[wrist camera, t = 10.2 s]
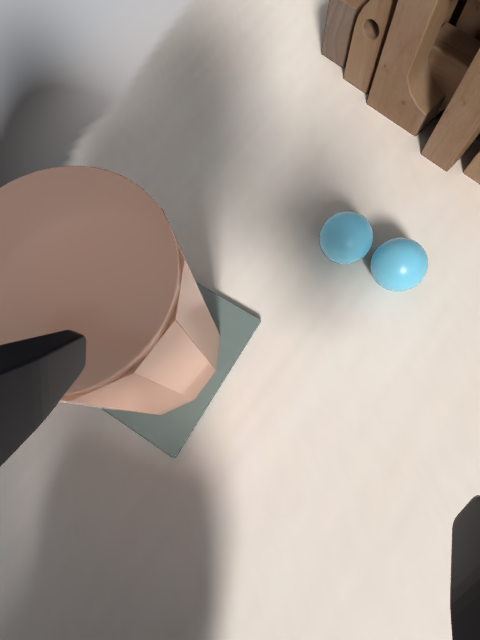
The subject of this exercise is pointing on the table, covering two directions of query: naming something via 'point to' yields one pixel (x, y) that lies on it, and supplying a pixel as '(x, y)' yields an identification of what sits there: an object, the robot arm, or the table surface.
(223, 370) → the mat
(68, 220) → the salmon pink cylinder
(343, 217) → the marble
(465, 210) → the table surface
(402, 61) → the wooden puzzle
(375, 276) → the marble
